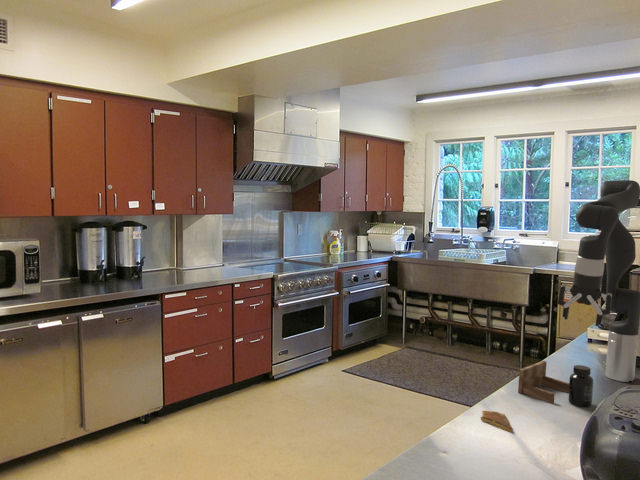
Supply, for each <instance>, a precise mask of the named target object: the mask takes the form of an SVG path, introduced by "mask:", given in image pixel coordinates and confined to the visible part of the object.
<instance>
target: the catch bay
mask: <svg viewBox="0 0 640 480" xmlns="http://www.w3.org/2000/svg"><path fill="white" fill-rule="evenodd" d="M518 373H519V374H518V388H517V389H518V390H517V393H518V394H523V395H526V396H529V397H532V398H535V399H538V400H542V401H543V402H547V403H549V404H550V403H551V404H553V403H555V392H551V391H548V390H545V389H542V388H539V387H540V386H545V387H548V388H552V389H554V390H556V391H560V392H563V393H567V394H569V382H567V381H563V380H560V379H556V378H553V377H549V376H546V375H547V361H546V360H541V361H539V362H536V363H533V364H530V365H528V366H526V367H522V368H520V369H519V372H518Z"/></svg>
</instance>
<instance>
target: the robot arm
mask: <svg viewBox="0 0 640 480" xmlns="http://www.w3.org/2000/svg"><path fill="white" fill-rule="evenodd" d="M639 202H640V184H639V182H638V181H636V180H631V179H625V180H619V179H618V180H606V181H604V182H603V183H602V184H601V188H600V198H599V199H598V200H596V201H595V200H594V201H590V202H586V203H584V204H582V205H581V206H580V207H579V208H578V210H577V212H576V216H575V218H576V219H575V220H576V223H577V224H578V225H579V226H580V227H581V228H585V229H591V230H598V231H600V233H599V234H597V235H585V236H583V237H581V238H580V241H579V245H578V253H577V258H576V262H575V265H574V273H573V279H572V280H573V281H572V286H567V285H566V284H562V285H561V286H560V290H559V294H558V298H557V299H558V300H557V305H559V306H561V307H563V311H562V317H563V319H564V320H568V319H569V314H570V313H569V312H570V306H571V305H573V304H574V303H575V302H576V303H577V304H580V305H581V304H584V305H587V306H592V307H593V309H595V311H596V312H597V314H596V319H595V326H596V327H599V325H600V326H601V324H602V322H603V317H604V315H609V314H611V313H614V314H621V315H628V316H627V318H626V319H623V320H618V321H615V320H614V321H613V322H610V323H609V326H608V336H607V348H606V350H607V351H606V361H605V362H606V363H605V373H604V376H605V378H608V379H611V380H614V381H616V382H621V383H622V382H623V383H630V382H629V381H632V382H634V381H635V373H636V361H637V353H638V352H637V350H638V338H639V326H640V291H639V290H637V289H628V288H620V287H619V281H620V280H621V278H622V277H623V276H624V274H625V273H626V272H627V271H628V270H629V269H630V268H631V266H632V265H633V263H634V262H635V260H636V253H637V252H636V241H635V238H634V237H633V235H632V234H631V232H630V231H629V230H628V229H627V227H626V226H625V225H624V224H623V223H622V222H621V220H620V219H619V214H620V213H622V212H624V211H626V210H629V209H632V208H635V207H636V206H637V205H638V204H639ZM605 266H606V267H605ZM605 268H606V293H603V292H602V290H601V288H602V283H603V277H604V271H605ZM569 292H570V293H571V294H570V295H572V296H571V297H570V298H569V299H568V300H567V301H565V300H564V299H565V294H567V293H569ZM601 298H602V299H603V301H604V302H605V307H604V308H603V307H602V306H601V303H600V302H599V301H598V300H599V299H601ZM633 380H634V381H633Z"/></svg>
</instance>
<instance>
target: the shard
mask: <svg viewBox="0 0 640 480" xmlns="http://www.w3.org/2000/svg"><path fill="white" fill-rule="evenodd" d="M481 414H482V415H481V417H480V421H481V420H482V422H485V423H488V422H489V423H488V424H490V423H491V425H492V424H493V426H494V427H497V428H499V427H500V429H501V428H502V430H504V431H507V432H510V433H513V431H514V428H513V427H512V425H511V423H510V421H509V419H508V417H507V416H506V414H505V413H502V412H499V411H492V410H482V411H481Z"/></svg>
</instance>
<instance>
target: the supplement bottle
mask: <svg viewBox="0 0 640 480" xmlns="http://www.w3.org/2000/svg"><path fill="white" fill-rule="evenodd" d="M591 369H592V368H590V367H589V366H587V365H580V364H578V365H574V366H573V371H572V372H573V373H571V374H570V376H569V381H568V383H569V393H568V402H569V404H570V405H573V406H575V407H576V408H577V407H579V408H591V407H592V406H593V399H594V398H593V396H594V378H593V377H592V376H591V374H592V373H591Z"/></svg>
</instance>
